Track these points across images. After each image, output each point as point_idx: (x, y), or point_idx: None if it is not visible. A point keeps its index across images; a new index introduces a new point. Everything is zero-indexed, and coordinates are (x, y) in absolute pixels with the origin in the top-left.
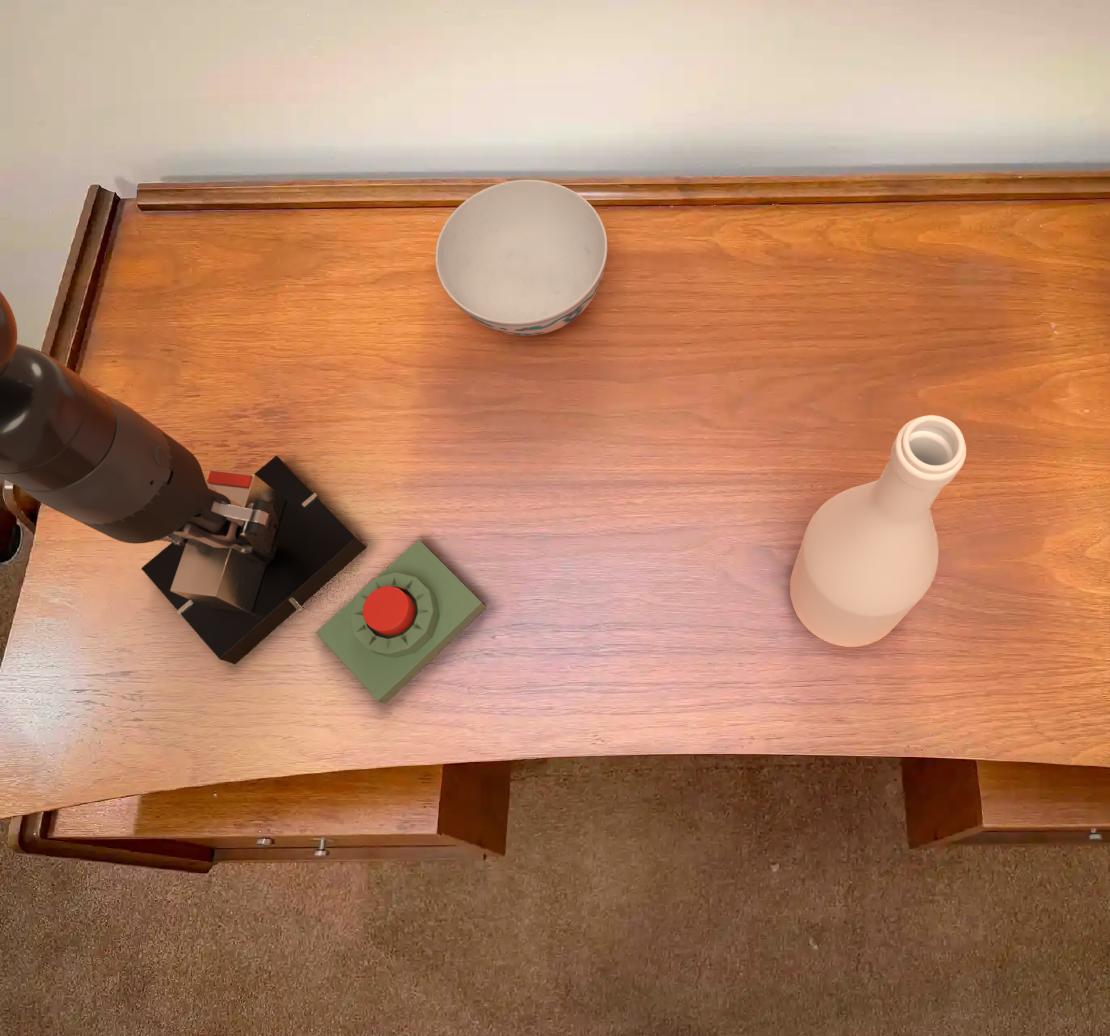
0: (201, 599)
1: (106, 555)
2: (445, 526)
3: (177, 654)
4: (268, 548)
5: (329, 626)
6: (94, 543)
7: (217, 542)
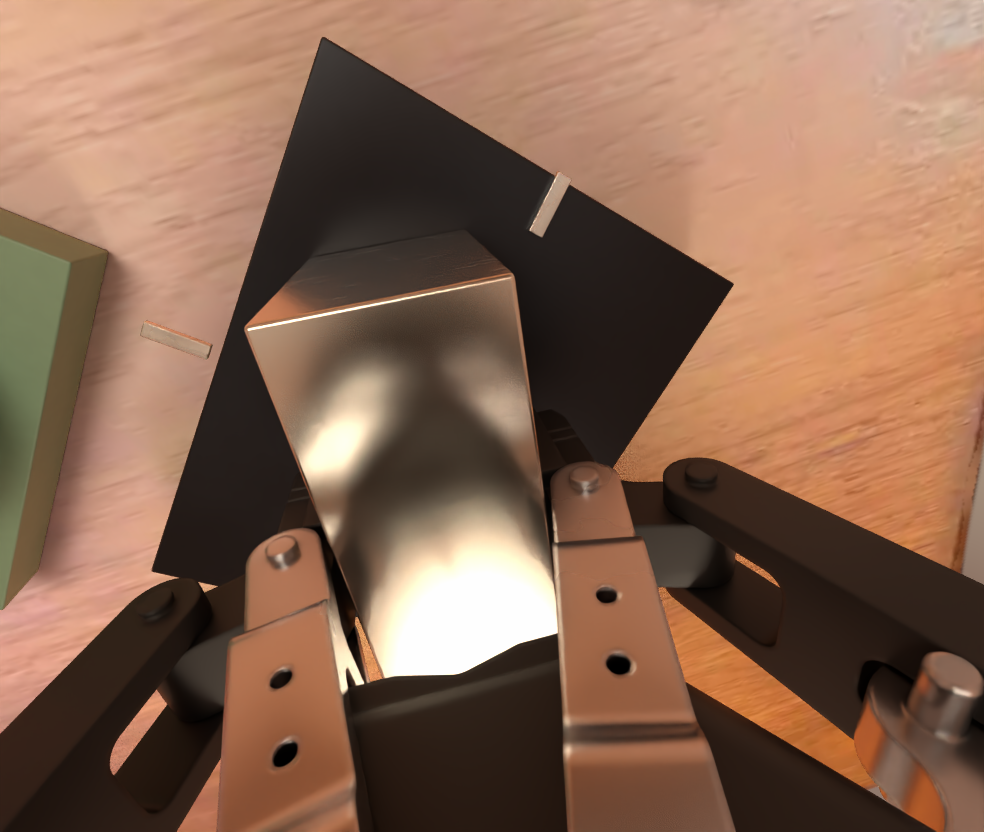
0: (408, 267)
1: (835, 276)
2: (29, 620)
3: (545, 38)
4: (59, 675)
5: (38, 299)
6: (870, 295)
7: (223, 724)
